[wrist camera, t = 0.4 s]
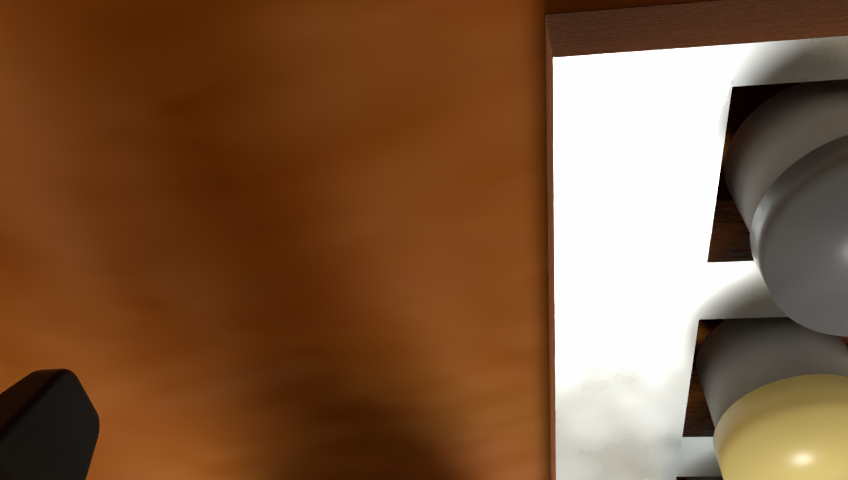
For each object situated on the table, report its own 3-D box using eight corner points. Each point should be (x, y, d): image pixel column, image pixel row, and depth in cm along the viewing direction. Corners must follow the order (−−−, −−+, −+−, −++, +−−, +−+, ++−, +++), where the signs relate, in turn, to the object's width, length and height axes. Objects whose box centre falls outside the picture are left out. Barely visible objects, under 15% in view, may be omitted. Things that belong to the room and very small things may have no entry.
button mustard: (830, 406, 23) (888, 522, 20) (682, 408, 24) (714, 522, 21) (863, 296, 21) (937, 408, 17) (697, 301, 21) (737, 411, 18)
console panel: (879, 507, 29) (914, 578, 27) (551, 507, 31) (556, 574, 28) (1098, -31, 17) (1199, 9, 15) (545, 14, 19) (553, 57, 16)
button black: (885, 226, 19) (969, 333, 16) (706, 234, 20) (751, 339, 17) (935, 62, 17) (1049, 148, 13) (728, 77, 17) (787, 162, 14)
